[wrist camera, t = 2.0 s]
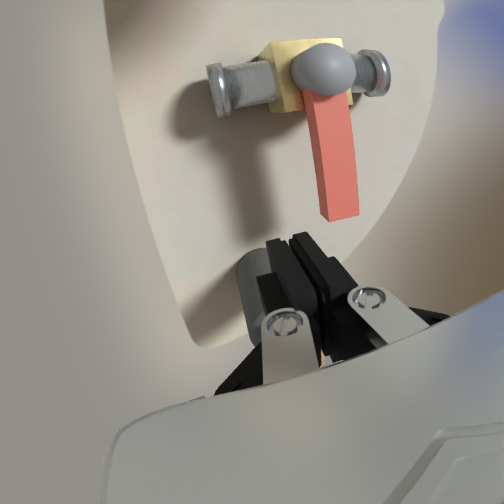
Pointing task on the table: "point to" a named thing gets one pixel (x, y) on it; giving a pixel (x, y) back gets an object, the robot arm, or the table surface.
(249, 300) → the bottle
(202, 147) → the table surface
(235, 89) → the valve body
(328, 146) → the lever
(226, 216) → the table surface
